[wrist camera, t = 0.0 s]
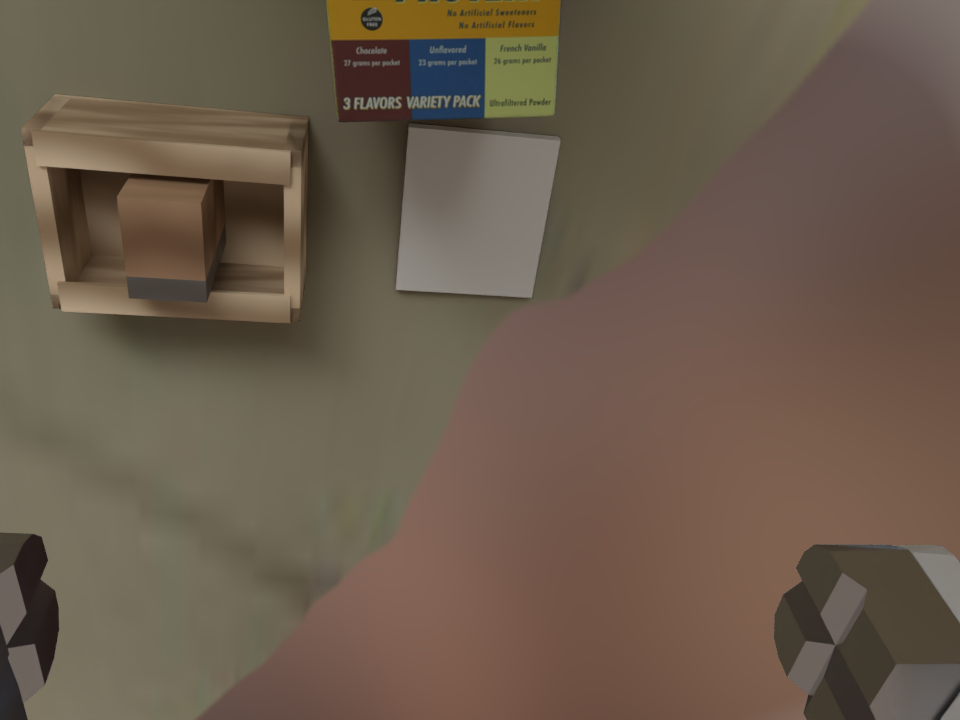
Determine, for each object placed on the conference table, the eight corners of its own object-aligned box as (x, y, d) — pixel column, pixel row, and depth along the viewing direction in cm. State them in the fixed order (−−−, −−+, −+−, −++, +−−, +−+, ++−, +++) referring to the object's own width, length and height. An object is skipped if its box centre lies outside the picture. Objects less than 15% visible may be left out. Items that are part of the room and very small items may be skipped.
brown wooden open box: (55, 94, 52) (19, 130, 47) (308, 116, 54) (301, 153, 49) (80, 262, 58) (51, 310, 53) (306, 276, 61) (299, 323, 55)
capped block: (148, 145, 54) (116, 197, 47) (222, 151, 54) (200, 203, 48) (157, 238, 57) (129, 298, 51) (226, 242, 58) (206, 302, 51)
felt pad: (408, 122, 55) (409, 127, 54) (558, 136, 57) (560, 140, 56) (395, 284, 62) (395, 289, 61) (530, 292, 63) (531, 297, 63)
